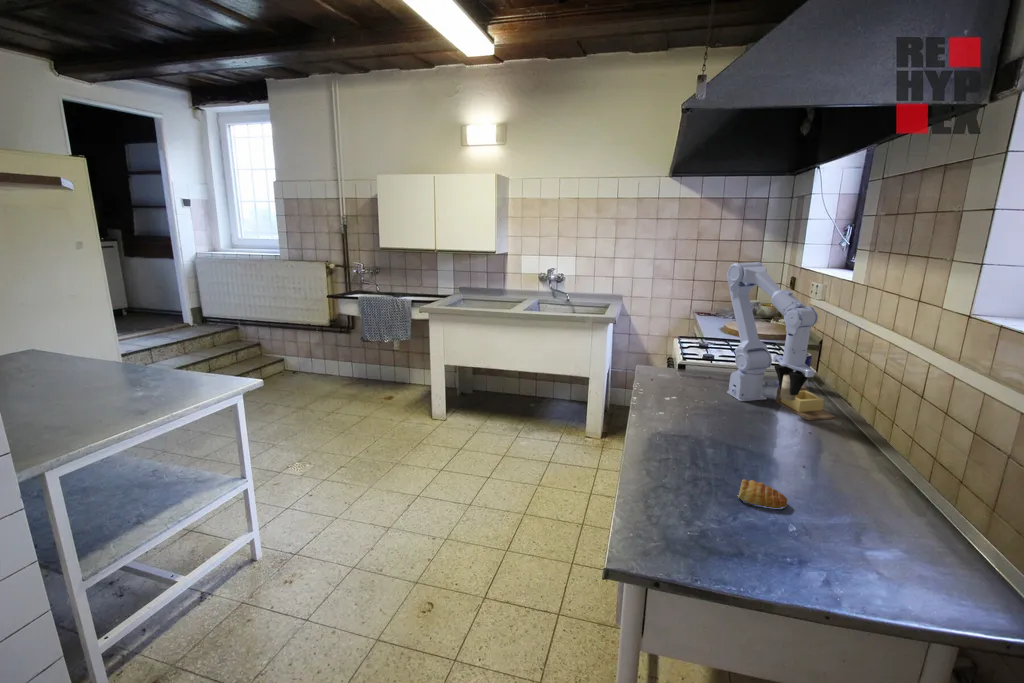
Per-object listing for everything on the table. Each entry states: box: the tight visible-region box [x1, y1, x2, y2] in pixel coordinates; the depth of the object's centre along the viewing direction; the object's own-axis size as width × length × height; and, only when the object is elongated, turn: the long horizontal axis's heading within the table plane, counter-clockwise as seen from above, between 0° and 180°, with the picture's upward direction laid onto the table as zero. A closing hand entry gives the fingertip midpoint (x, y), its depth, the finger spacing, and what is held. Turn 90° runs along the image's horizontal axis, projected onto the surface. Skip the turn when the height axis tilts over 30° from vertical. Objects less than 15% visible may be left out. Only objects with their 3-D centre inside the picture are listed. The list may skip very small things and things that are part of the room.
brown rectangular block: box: [775, 386, 836, 421], centre depth 150 cm, size 9×14×5 cm, turn 9°
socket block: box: [781, 389, 825, 412], centre depth 151 cm, size 8×8×4 cm
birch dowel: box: [780, 374, 796, 401], centre depth 145 cm, size 4×4×7 cm
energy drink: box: [793, 352, 813, 388], centre depth 168 cm, size 5×5×12 cm
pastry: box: [737, 478, 788, 508], centre depth 104 cm, size 9×7×4 cm
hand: (788, 391), depth 145 cm, fingers closed on birch dowel, 4 cm apart
